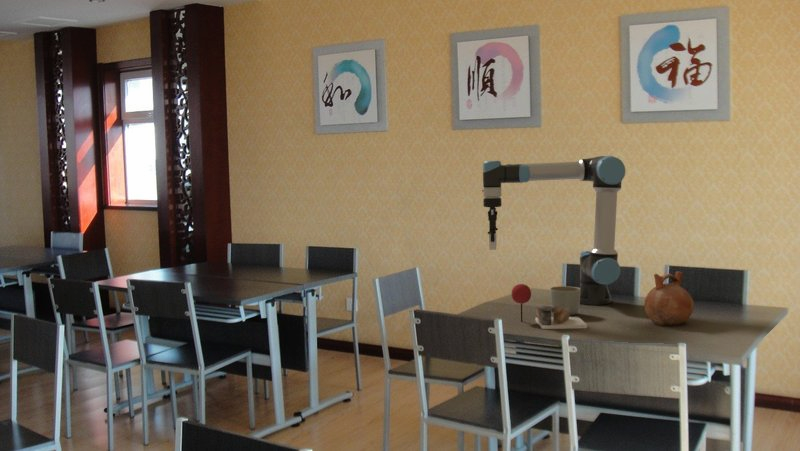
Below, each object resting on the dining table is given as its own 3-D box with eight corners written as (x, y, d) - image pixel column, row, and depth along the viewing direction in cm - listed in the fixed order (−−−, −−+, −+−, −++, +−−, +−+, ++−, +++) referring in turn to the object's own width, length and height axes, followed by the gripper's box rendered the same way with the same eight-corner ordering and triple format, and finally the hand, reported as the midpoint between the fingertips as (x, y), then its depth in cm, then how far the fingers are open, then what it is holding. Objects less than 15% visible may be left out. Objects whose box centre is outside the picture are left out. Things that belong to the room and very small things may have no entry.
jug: (668, 330, 304) (669, 276, 302) (633, 321, 320) (634, 271, 318) (704, 324, 313) (704, 272, 311) (668, 316, 329) (669, 267, 327)
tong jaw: (569, 318, 321) (569, 302, 321) (557, 326, 308) (557, 309, 307) (550, 316, 325) (550, 301, 324) (538, 324, 311) (538, 308, 311)
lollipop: (532, 320, 327) (532, 283, 325) (529, 324, 320) (529, 286, 318) (513, 319, 329) (513, 282, 328) (510, 323, 322) (509, 285, 321)
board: (578, 319, 326) (578, 316, 326) (587, 328, 310) (587, 325, 310) (535, 320, 326) (535, 317, 326) (542, 329, 310) (542, 325, 310)
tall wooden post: (545, 320, 325) (545, 304, 325) (552, 328, 311) (552, 311, 310) (536, 320, 325) (536, 304, 325) (542, 328, 311) (542, 311, 310)
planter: (586, 314, 337) (586, 288, 336) (570, 319, 328) (570, 292, 327) (560, 310, 345) (560, 285, 344) (544, 315, 336) (544, 289, 335)
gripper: (484, 196, 356) (485, 244, 358) (482, 199, 332) (483, 251, 334) (501, 195, 355) (502, 244, 357) (501, 199, 331) (501, 251, 333)
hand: (493, 247), depth 345 cm, fingers open, 13 cm apart
